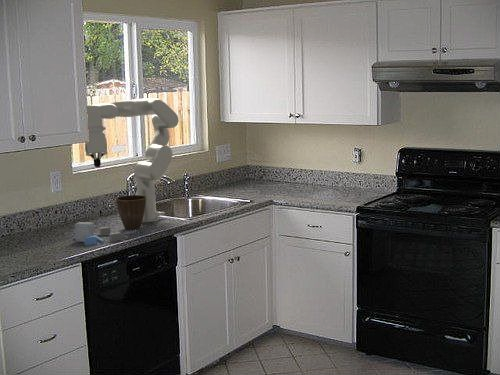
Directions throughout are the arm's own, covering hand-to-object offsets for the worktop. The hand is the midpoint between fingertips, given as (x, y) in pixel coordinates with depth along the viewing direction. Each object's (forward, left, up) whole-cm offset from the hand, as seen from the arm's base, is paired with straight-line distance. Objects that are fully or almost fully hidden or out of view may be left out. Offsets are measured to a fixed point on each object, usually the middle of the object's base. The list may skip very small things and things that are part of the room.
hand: (97, 166), depth 350 cm
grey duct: (0, +19, -32) cm, 37 cm away
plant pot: (-14, +7, -32) cm, 36 cm away
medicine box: (+14, +19, -32) cm, 40 cm away
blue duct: (+12, +19, -32) cm, 39 cm away
